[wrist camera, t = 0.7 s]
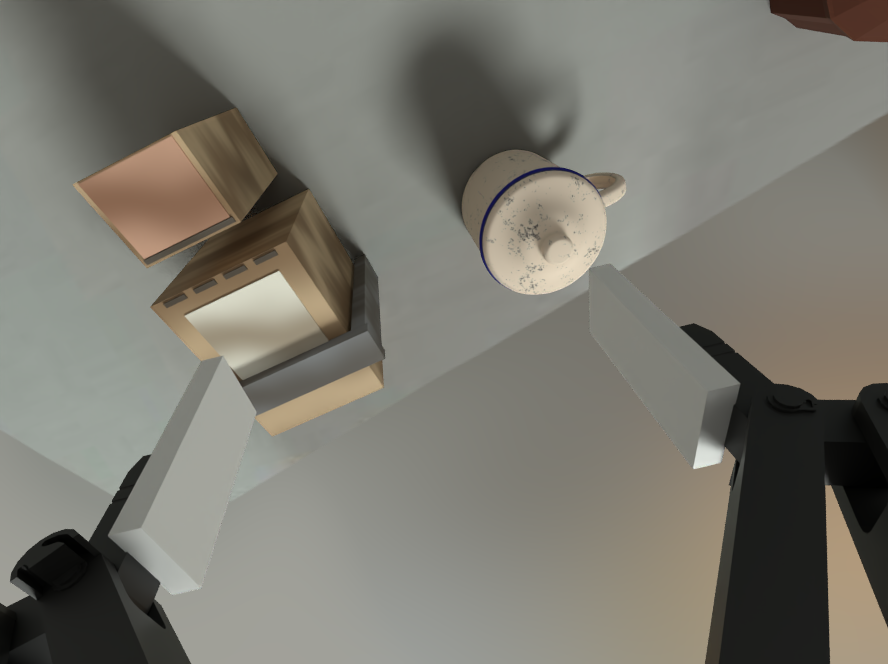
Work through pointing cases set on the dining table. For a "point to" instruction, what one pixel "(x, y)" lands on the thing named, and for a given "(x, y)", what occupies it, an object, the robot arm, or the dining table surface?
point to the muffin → (837, 17)
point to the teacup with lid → (537, 219)
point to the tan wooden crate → (282, 313)
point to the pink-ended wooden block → (181, 187)
